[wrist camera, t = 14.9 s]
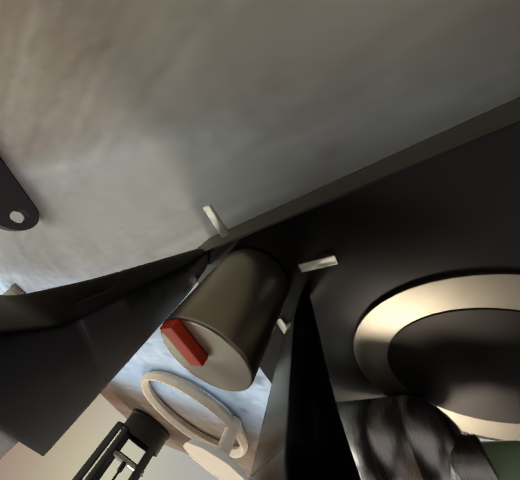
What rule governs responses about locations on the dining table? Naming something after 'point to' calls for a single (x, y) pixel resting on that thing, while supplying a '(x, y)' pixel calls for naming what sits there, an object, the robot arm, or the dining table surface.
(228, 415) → the hand towel holder
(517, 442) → the green handled ring tool
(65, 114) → the dining table surface
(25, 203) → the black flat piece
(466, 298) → the burner
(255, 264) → the burner knob
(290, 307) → the stove
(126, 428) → the french press
